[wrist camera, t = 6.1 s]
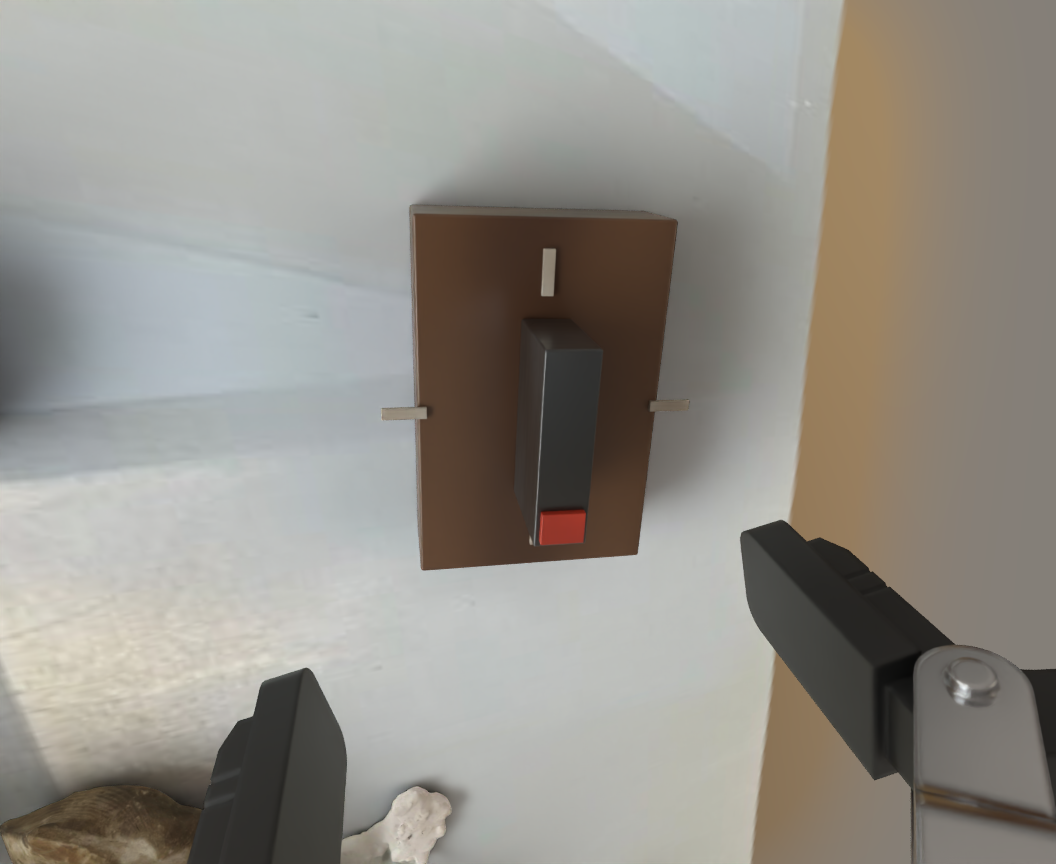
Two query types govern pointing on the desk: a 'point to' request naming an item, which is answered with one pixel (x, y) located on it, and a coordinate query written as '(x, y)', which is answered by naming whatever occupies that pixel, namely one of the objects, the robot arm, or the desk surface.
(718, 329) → the desk surface
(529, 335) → the red-tipped grey bar
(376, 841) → the rock
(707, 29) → the desk surface
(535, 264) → the panel
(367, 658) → the desk surface
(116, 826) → the fossilized seashell
